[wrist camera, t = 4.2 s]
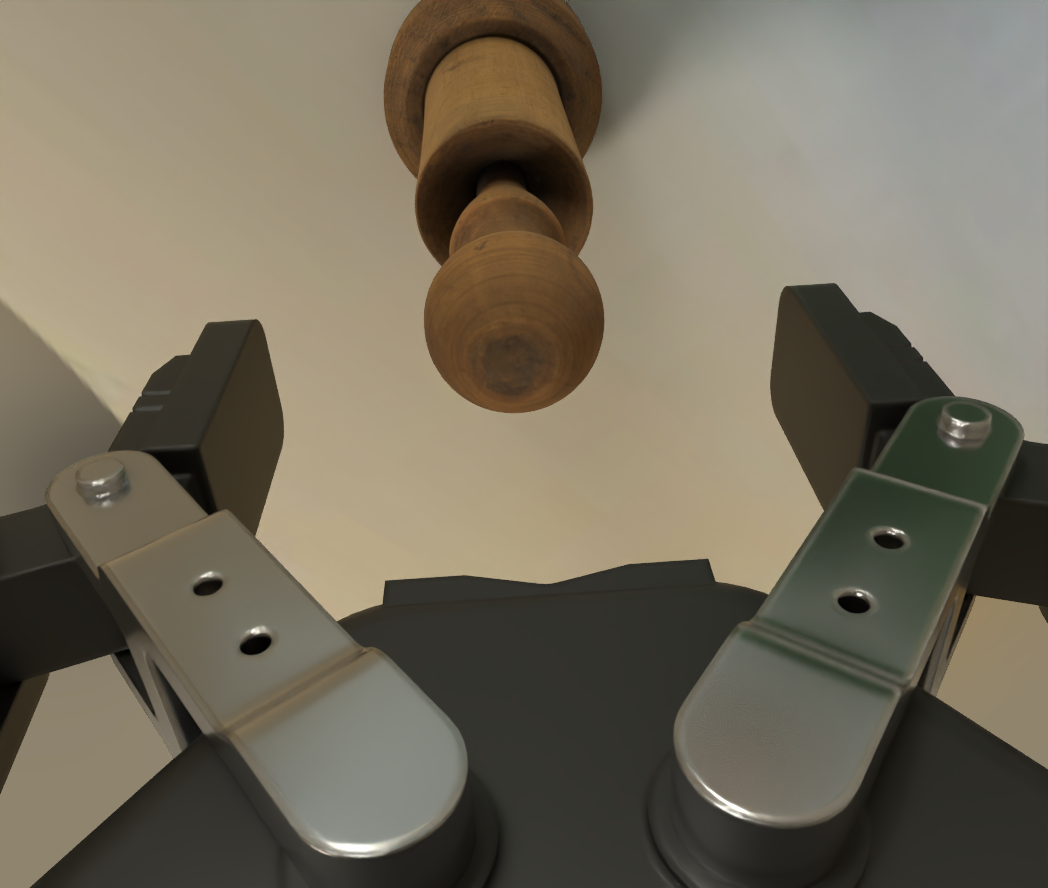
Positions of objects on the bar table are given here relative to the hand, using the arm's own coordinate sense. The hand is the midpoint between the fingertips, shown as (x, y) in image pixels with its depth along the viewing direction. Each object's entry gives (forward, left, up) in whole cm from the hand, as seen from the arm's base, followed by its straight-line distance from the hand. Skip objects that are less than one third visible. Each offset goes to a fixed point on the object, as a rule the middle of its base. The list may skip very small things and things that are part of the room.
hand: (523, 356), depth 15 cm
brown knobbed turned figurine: (0, 0, -18) cm, 18 cm away
